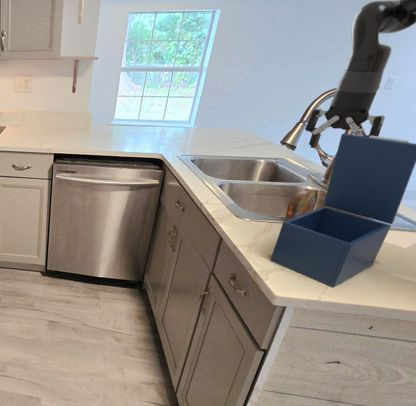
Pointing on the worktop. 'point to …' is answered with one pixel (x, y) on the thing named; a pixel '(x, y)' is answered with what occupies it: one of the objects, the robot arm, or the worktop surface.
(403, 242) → the worktop surface
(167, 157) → the worktop surface
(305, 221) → the blue box
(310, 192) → the tin
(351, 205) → the box lid
